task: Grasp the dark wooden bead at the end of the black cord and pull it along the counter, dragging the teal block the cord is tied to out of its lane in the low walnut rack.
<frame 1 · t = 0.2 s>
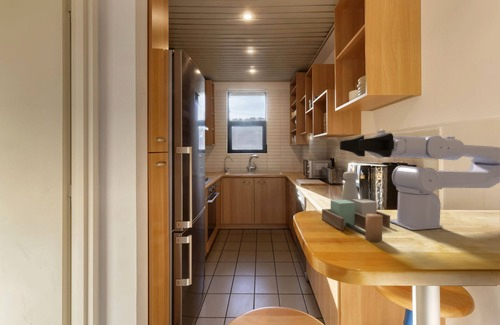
hand: (349, 144, 64), 21 cm above the breakfast bar, tool horizontal, fingers open, 7 cm apart
tethered block: (342, 223, 72), on the breakfast bar
walnut rack: (355, 223, 72), on the breakfast bar
salt shaker: (349, 213, 83), on the breakfast bar
grey block: (363, 222, 73), resting in walnut rack
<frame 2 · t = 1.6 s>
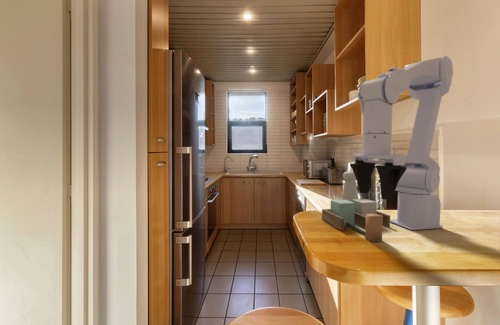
hand: (374, 195, 59), 10 cm above the breakfast bar, tool pointing down, fingers open, 7 cm apart
nothing on the breakfast bar moved.
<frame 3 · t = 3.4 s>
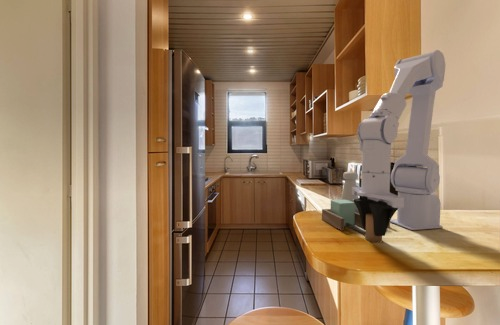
hand: (373, 232, 59), 2 cm above the breakfast bar, tool pointing down, fingers closed on tethered block, 3 cm apart
tethered block: (342, 223, 72), on the breakfast bar, touching gripper
everything else where it was.
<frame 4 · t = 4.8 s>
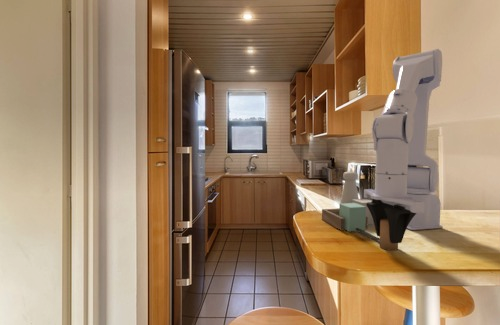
hand: (388, 239, 54), 2 cm above the breakfast bar, tool pointing down, fingers closed on tethered block, 3 cm apart
tethered block: (351, 228, 67), on the breakfast bar, touching gripper
everything else where it was.
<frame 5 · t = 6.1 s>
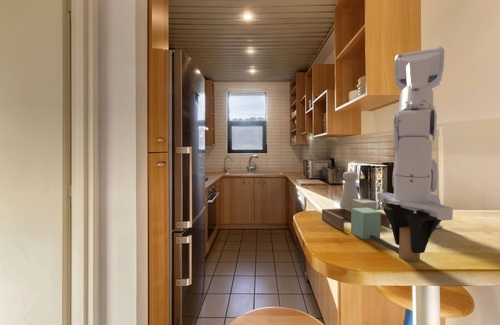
hand: (409, 248, 49), 2 cm above the breakfast bar, tool pointing down, fingers closed on tethered block, 3 cm apart
tethered block: (365, 235, 62), on the breakfast bar, touching gripper
everything else where it was.
when the fingers open (2 cm above the breakfast bar, at t = 7.0 s): tethered block stays where it is, on the breakfast bar.
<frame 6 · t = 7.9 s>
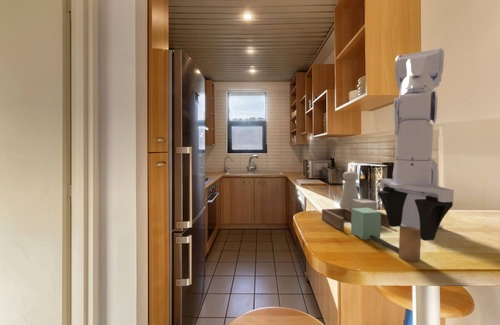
hand: (409, 232, 49), 5 cm above the breakfast bar, tool pointing down, fingers open, 7 cm apart
tethered block: (365, 235, 62), on the breakfast bar
everything else where it was.
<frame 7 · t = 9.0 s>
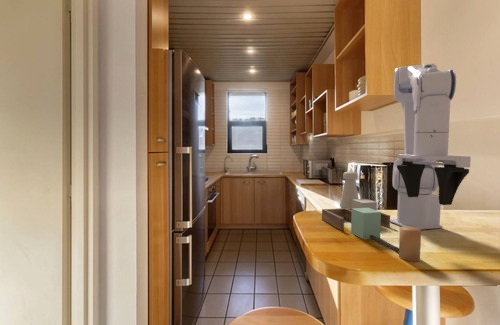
hand: (428, 200, 54), 10 cm above the breakfast bar, tool pointing down, fingers open, 7 cm apart
nothing on the breakfast bar moved.
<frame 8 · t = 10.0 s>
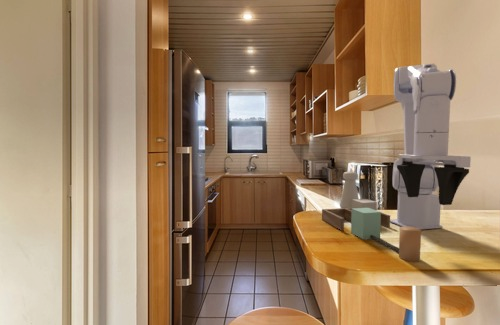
hand: (428, 200, 54), 10 cm above the breakfast bar, tool pointing down, fingers open, 7 cm apart
nothing on the breakfast bar moved.
at the end: tethered block inside the target area (4.7 cm from its centre), on the breakfast bar; tethered block moved 10.0 cm from its start; the gripper is holding nothing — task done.
